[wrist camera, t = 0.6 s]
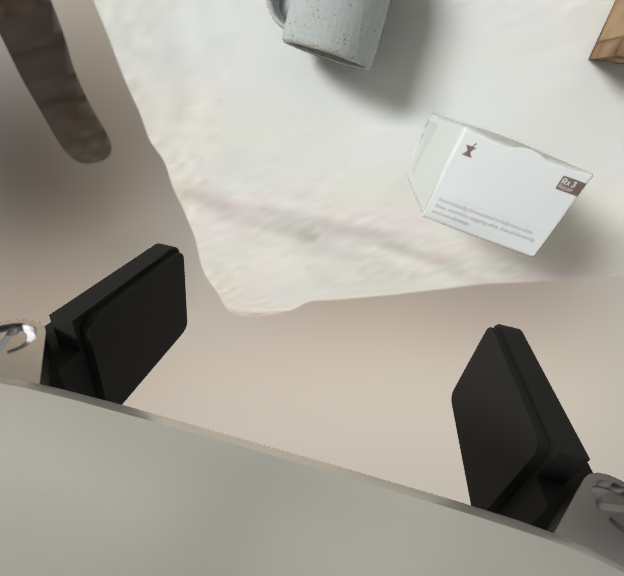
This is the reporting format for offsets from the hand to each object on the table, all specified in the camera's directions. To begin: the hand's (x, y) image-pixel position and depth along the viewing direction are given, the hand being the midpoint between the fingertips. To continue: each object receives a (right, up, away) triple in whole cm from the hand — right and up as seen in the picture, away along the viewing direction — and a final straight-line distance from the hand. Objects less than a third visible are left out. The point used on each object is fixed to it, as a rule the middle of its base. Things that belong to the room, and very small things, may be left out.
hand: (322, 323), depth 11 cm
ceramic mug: (+1, +25, +19) cm, 32 cm away
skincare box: (+14, +14, +23) cm, 30 cm away
